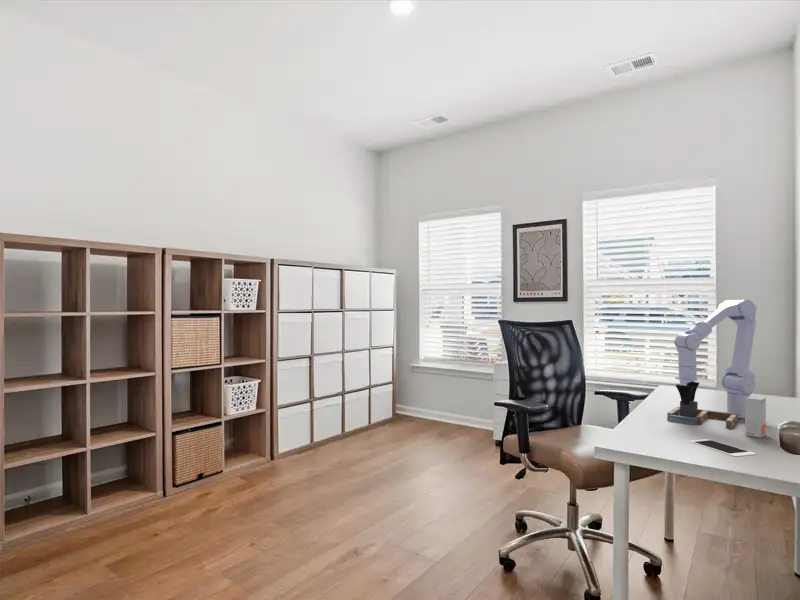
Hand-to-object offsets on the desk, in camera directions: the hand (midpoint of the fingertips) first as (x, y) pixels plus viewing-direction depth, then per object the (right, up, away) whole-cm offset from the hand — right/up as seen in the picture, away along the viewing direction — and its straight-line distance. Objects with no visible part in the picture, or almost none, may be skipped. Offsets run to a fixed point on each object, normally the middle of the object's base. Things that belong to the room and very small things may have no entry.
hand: (688, 402), depth 180 cm
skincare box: (+8, -6, -23) cm, 25 cm away
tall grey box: (0, -5, 0) cm, 6 cm away
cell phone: (-12, -6, -37) cm, 40 cm away
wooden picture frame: (+3, -6, -3) cm, 7 cm away
